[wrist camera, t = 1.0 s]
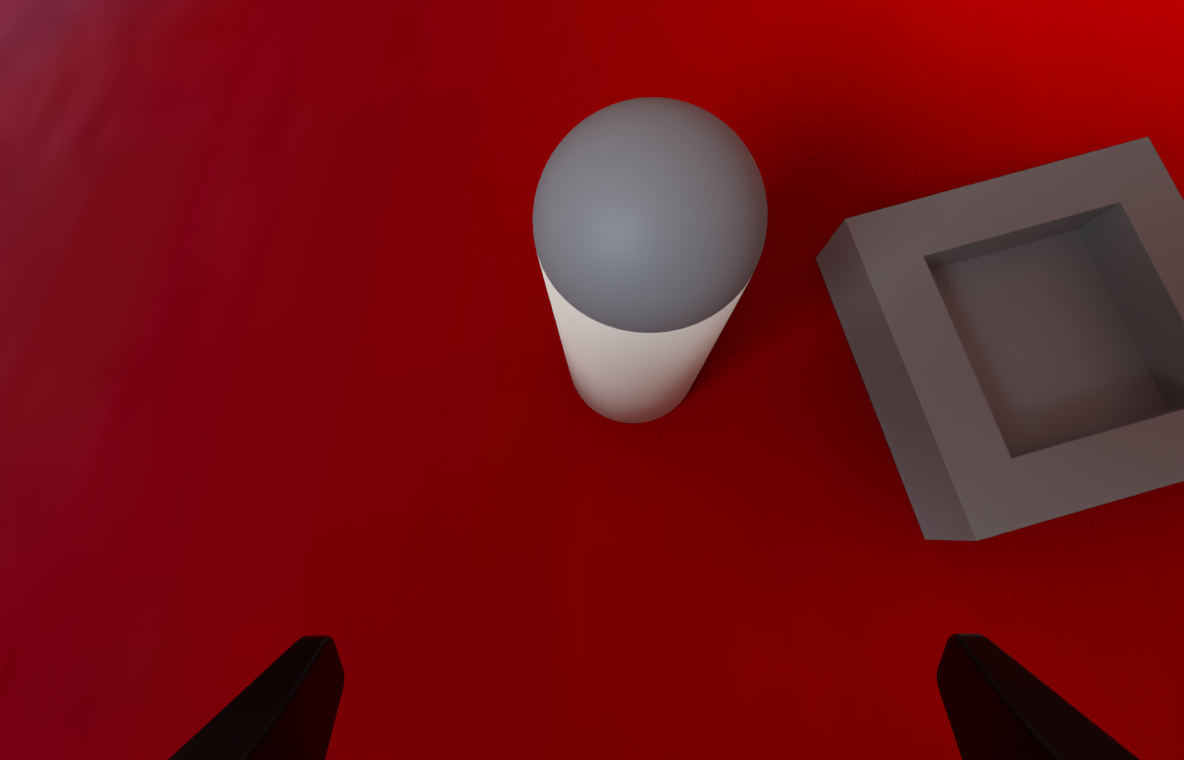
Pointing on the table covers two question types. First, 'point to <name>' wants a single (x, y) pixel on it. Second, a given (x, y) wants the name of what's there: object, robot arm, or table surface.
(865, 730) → the table surface
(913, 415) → the jig
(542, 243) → the grey round-top peg
